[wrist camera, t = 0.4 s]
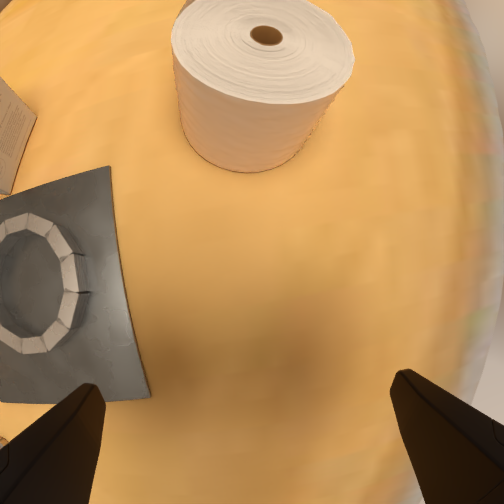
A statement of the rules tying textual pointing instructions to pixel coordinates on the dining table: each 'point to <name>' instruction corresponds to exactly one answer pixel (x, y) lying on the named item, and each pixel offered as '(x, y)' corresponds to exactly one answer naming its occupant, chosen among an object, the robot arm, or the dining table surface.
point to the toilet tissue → (255, 77)
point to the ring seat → (65, 295)
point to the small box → (12, 134)
